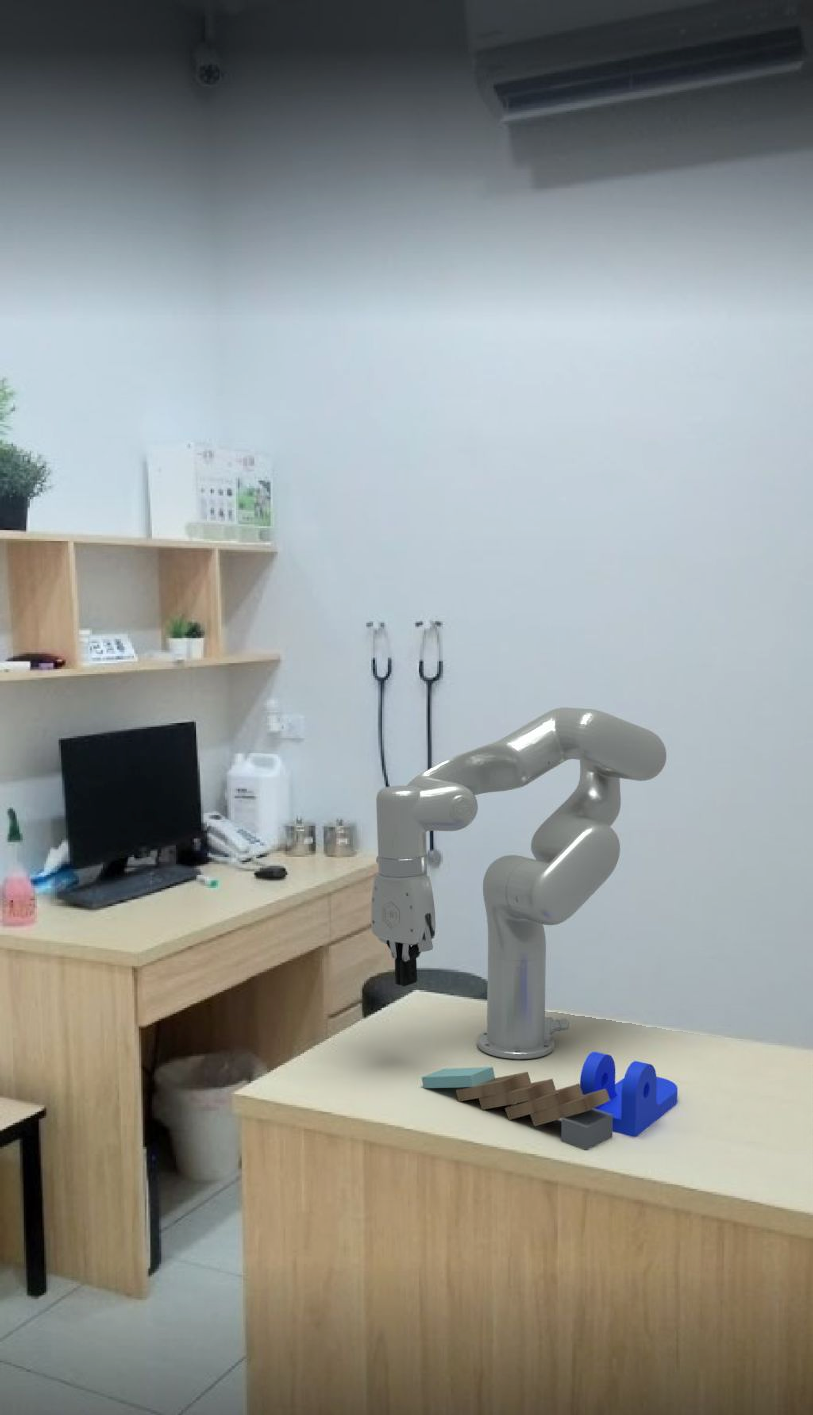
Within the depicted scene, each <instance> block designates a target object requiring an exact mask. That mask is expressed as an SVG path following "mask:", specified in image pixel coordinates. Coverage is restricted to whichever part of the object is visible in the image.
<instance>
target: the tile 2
mask: <svg viewBox="0 0 813 1415" xmlns="http://www.w3.org/2000/svg"><path fill="white" fill-rule="evenodd" d="M530 1078H531V1077H530V1074H529V1072H528V1071H525V1072H524V1071H523V1072H520V1073H514V1074H510V1075H503V1076H499V1077H495V1078H494V1079H491V1080H489V1081H486V1082H484V1083H481V1084H479V1085H476V1086H474V1087H459V1088H458V1089H456V1090H455V1093H456V1096H457V1100H458V1102H463V1101H464V1102H465V1101H468V1100H469V1101H470V1100H474V1099H479V1098H481V1097H486V1096H492V1095H497V1094H503V1093H508V1092H511V1091H513V1090H516V1089H518V1088H521V1087H523V1086H525V1085H528V1084H530V1083H532V1082H531V1079H530Z"/></svg>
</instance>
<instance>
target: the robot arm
mask: <svg viewBox="0 0 813 1415" xmlns="http://www.w3.org/2000/svg"><path fill="white" fill-rule="evenodd" d="M568 760H569V761H570V760H578V761H579V765H580V766H579V767H580V769H579V779H578V783H577V786H576V788H575V789H574V790H573V792H572V793H571V794H570V795H569V797H568V798H566V800H565V801H564V802H563V803H562V804H561V805H559V807H558V808H556V810H555V811H553V813H552V814H551V815H550V816H549V817H548V818H546V819H545V820H544V822H543V823H542V824H541V825H539V827H538V828H537V829H536V831H535V832H534V833H533V835H532V838H531V842H530V850H531V853H532V855H533V857H534V858H535V859H534V858H530V857H527V856H522V855H517V854H516V855H515V854H513V855H512V854H511V855H510V854H508V855H504V856H500V857H499V858H496V859H495V860H493V862H491V863H490V865H489V866H488V867H487V869H486V871H485V873H484V877H483V880H482V896H483V901H484V906H485V914H486V922H487V987H486V988H487V996H486V999H487V1001H486V1002H487V1005H486V1006H487V1008H486V1009H487V1010H486V1031H484V1032H482V1033H480V1034H479V1035H478V1037H477V1047H478V1049H480V1051H481V1052H483V1053H485V1054H488V1055H491V1056H493V1057H498V1058H503V1059H511V1060H530V1059H537V1058H542V1057H544V1056H547V1055H549V1054H551V1053H552V1052H553V1051H554V1049H555V1041H554V1039H553V1037H551V1035H553V1034H554V1033H555V1032H563V1031H567V1030H569V1028H570V1022H569V1020H568V1018H566V1017H564V1018H558V1019H554V1018H553V1017H552V1016H547V1017H546V971H547V970H546V966H547V965H546V959H547V957H546V956H547V939H546V933H545V927H544V925H545V926H557V925H559V924H561V923H564V922H566V921H568V920H569V918H571V917H572V916H573V915H575V913H576V912H577V911H578V910H579V909H580V908H582V906H583V905H585V903H586V902H588V900H589V899H590V898H591V896H593V895H594V893H596V892H597V890H598V889H599V888H600V887H601V886H602V885H603V884H604V883H605V882H606V881H607V880H608V879H609V878H610V876H611V875H612V874H613V872H614V870H615V869H616V867H617V864H618V862H619V860H620V855H621V843H620V840H619V837H618V835H617V833H616V831H615V830H614V829H613V828H612V827H611V826H612V825H613V824H614V823H615V821H616V820H617V819H618V817H619V814H620V811H621V804H622V802H621V801H622V800H621V798H622V797H621V783H620V782H621V780H620V779H623V780H631V781H639V782H645V781H650V780H653V779H655V778H656V777H657V776H658V775H659V774H660V773H661V772H663V769H664V767H665V765H666V764H667V762H666V761H667V749H666V746H665V743H664V742H663V740H662V738H660V736H658V735H657V734H656V733H655V732H653V731H651V730H650V729H647V728H645V727H642V726H639V725H637V724H634V723H631V722H630V721H627V720H624V719H622V718H620V717H617V716H615V715H613V714H612V715H611V714H609V713H607V712H604V711H601V710H597V709H592V708H581V707H580V708H579V707H577V708H576V707H558V708H555V709H552V710H550V711H548V712H545V713H544V714H542V715H540V716H538V717H537V718H535V719H534V720H531V721H530V722H528V723H526V724H525V725H523V726H522V727H520V728H518V729H516V730H515V731H512V732H511V733H510V734H508V735H506V736H504V737H503V738H500V739H499V740H496V741H495V742H493V743H489V744H487V745H483V746H480V747H476V748H475V749H472V750H470V751H466V752H464V753H460V754H457V755H456V756H453V757H450V758H448V759H445V760H443V761H441V762H439V763H438V764H436V765H434V766H432V767H430V768H428V769H427V770H425V771H423V772H421V773H420V774H419V775H417V776H416V777H414V778H412V779H411V781H410V782H408V783H407V785H393V786H386V787H383V788H381V789H380V790H378V792H377V794H376V797H375V798H376V799H375V800H376V802H375V804H376V806H375V807H376V830H377V836H376V837H377V838H376V839H377V856H376V859H375V860H376V864H377V865H378V868H377V869H378V872H377V873H375V875H374V881H373V886H372V893H371V912H370V914H371V915H370V916H371V917H370V918H371V919H370V921H371V926H370V927H371V932H372V934H373V935H374V936H375V937H377V938H378V940H379V941H380V942H381V943H383V944H385V945H387V947H388V948H389V950H390V955H391V958H392V959H394V974H395V976H394V977H395V979H394V980H395V984H396V985H397V986H402V987H407V986H410V985H412V984H415V983H417V981H418V971H417V969H418V967H417V966H418V965H417V964H418V962H417V959H418V958H419V957H420V954H421V953H422V952H424V953H425V952H428V951H432V950H433V948H434V944H433V939H434V938H435V936H436V909H435V902H434V894H433V893H434V892H433V887H432V883H431V878H430V876H429V875H428V857H427V856H428V853H427V832H431V831H433V832H436V831H437V832H456V831H460V830H462V829H465V828H467V827H468V826H469V825H471V824H472V822H474V820H475V819H476V817H477V813H478V809H479V806H478V805H479V804H478V799H477V797H476V796H477V795H480V794H486V793H487V794H488V793H495V792H496V793H498V792H507V791H512V790H515V789H520V788H523V787H525V786H528V785H529V784H530V783H533V782H534V781H536V779H537V780H538V778H540V777H541V776H543V775H544V774H545V775H546V773H547V772H551V770H553V769H554V768H556V767H558V766H560V765H561V764H562V763H564V762H566V761H568Z"/></svg>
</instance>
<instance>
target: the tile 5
mask: <svg viewBox="0 0 813 1415" xmlns="http://www.w3.org/2000/svg"><path fill="white" fill-rule="evenodd" d="M608 1101H610V1098H609V1095H608V1093H607V1090H606V1089H602V1090H599V1091H596V1092H592V1093H589V1094H586V1095H583V1096H580V1097H578V1098H576V1099H574V1100H572V1101H569V1102H567V1103H565V1104H563V1105H560V1106H557V1107H553V1108H550V1109H546V1110H542V1111H539V1112H535V1113H532V1114H529V1115H530V1118H531V1121H532V1123H533V1126H534V1127H536V1126H541V1125H542V1124H547V1123H551V1122H554V1121H558V1120H562V1118H565V1117H568V1116H572V1115H575V1114H579V1113H582V1112H586V1111H589V1110H591V1109H593V1108H595V1107H597V1106H600V1105H602V1104H604V1103H606V1102H608Z"/></svg>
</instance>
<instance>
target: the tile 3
mask: <svg viewBox="0 0 813 1415" xmlns="http://www.w3.org/2000/svg"><path fill="white" fill-rule="evenodd" d="M555 1090H557V1089H556V1086H555V1082H554V1079H553V1078H550V1079H545V1080H540V1081H535V1082H531V1083H530V1084H528V1085H525V1086H523V1087H521V1088H518V1089H516V1090H513V1091H511V1092H508V1093H503V1094H497V1095H492V1096H486V1097H481V1098H478V1100H479V1103H480V1107H481V1110H488V1109H494V1108H499V1107H503V1106H509V1105H510V1106H511V1105H514V1104H516V1103H521V1102H526V1101H531V1100H535V1099H537V1098H539V1097H542V1096H544V1095H546V1094H549V1093H551V1092H553V1091H555Z"/></svg>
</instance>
